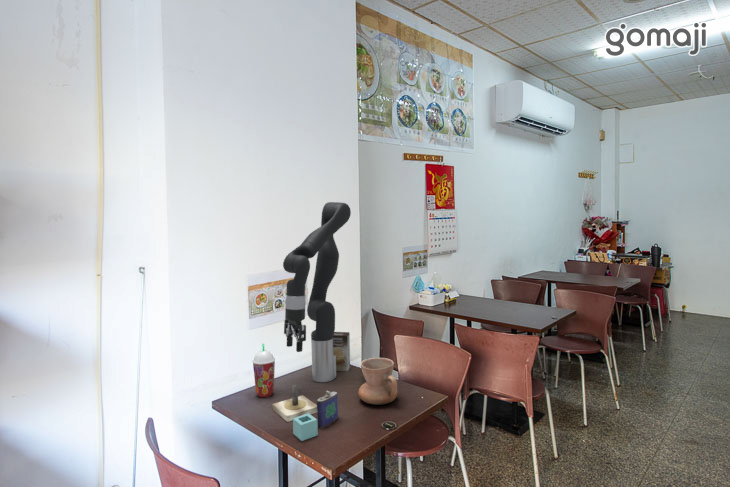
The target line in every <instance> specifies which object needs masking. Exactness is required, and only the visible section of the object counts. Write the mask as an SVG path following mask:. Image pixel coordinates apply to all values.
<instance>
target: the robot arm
mask: <svg viewBox="0 0 730 487" xmlns="http://www.w3.org/2000/svg"><path fill="white" fill-rule="evenodd" d="M351 213H352V212H351V207H350V205H348V203H346V202H339V201H338V202H337V201H336V202H335V201H334V202H333V201H329V202H328V201H327V203H325V204H324V205H323V208H322V212H321V222H320V226H319V227H318V228H316V229H315V230H313V231H312V232H310V233H309V234H308V235H307V236H306V238H305V239H304V240H303V241H302V242H301V244H300V245H299V246H297V247H296V248H294V249H293V250H292V251H290V252H289V253H287V255H286V256H285V258H284V259H283V262H282V263H283V264H282V268H283V269H284V271H285V272H286V273H290V274H294V277H293V279H289V280H288V281H287V282H286V297H285V310H284V312H285V313H284V315H285V316H284V322H283V323H284V324H283V326H284V327H283V335H285V337H286V347H288V348H291V347H292V346H293V340H294V339H293V337H294V338H295V339H296V348H295V349H296V352H297V353H300V352H303V342H306V341H307V324H303V323H302V321H305V319H306V312H307V316H308V318H309V319H310V320H312V321H314V322H315V330H313V331H312V332H311V333H310V336H311V337H310V338H311V339H310V342H311V370H312V371H311V377H312V381H313V382H316V383H327V382H328V383H329V382H331V381H332V380H334V379H336V378H337V371H336V356H335V355H334V347H333V334H334V332H336V331H335V330H336V309H335V306H334V304H333V303H331V302H329V301H327V293H328V290H329V286H330V285H331V283H332V281H333V279H334V277H335V276H336V274H337V271H338V267H339V261H340V252H339V249H338V246H337V243H336V242H335V237H334V235H335V233H337V231H339V230H340V229H341V228H342V227H343V226H344V225H346V224H347V222H348V221H349V220H350V217H351V215H352V214H351ZM315 256H317V257H316V263H315V270H314V277H313V283H312V288H311V292H310V296H309V300H308V303H307V310H306V284H307V281H308V277H309V273H310V269H311V262H310V259H312V258H314V257H315Z"/></svg>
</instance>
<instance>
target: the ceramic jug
mask: <svg viewBox="0 0 730 487" xmlns="http://www.w3.org/2000/svg"><path fill="white" fill-rule="evenodd" d="M394 364H395V362H394V361H393V360H392V359H390V358H386V357H369V358H368V359H367V358H366V359H363V360H362V361H361V362H360V369H361V371H362V374H363V378H364V380H365V381H366V382H364V383H363V384H362V385H361V386H360V387H359V389H358V393H357V394H358V397H359V399H361V401H363V402H364V403H366V404H370V405H375V406H376V405H377V406H378V405H379V406H380V405H385V404H387V405H388V404H390V403H392V402H393V401H395V399H396V398H397V397H398V393H399V392H398V381H397V379H396V377H394V375H392V374H393V371H394Z"/></svg>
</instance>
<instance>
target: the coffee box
mask: <svg viewBox="0 0 730 487" xmlns="http://www.w3.org/2000/svg"><path fill="white" fill-rule="evenodd" d="M350 336H351V335H350V332H349V331H347V332H345V331H334V334H333V347H334V355H335V356H336V372H349V370H350V367H351V349H350V348H351V345H350V342H351V341H350Z"/></svg>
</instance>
